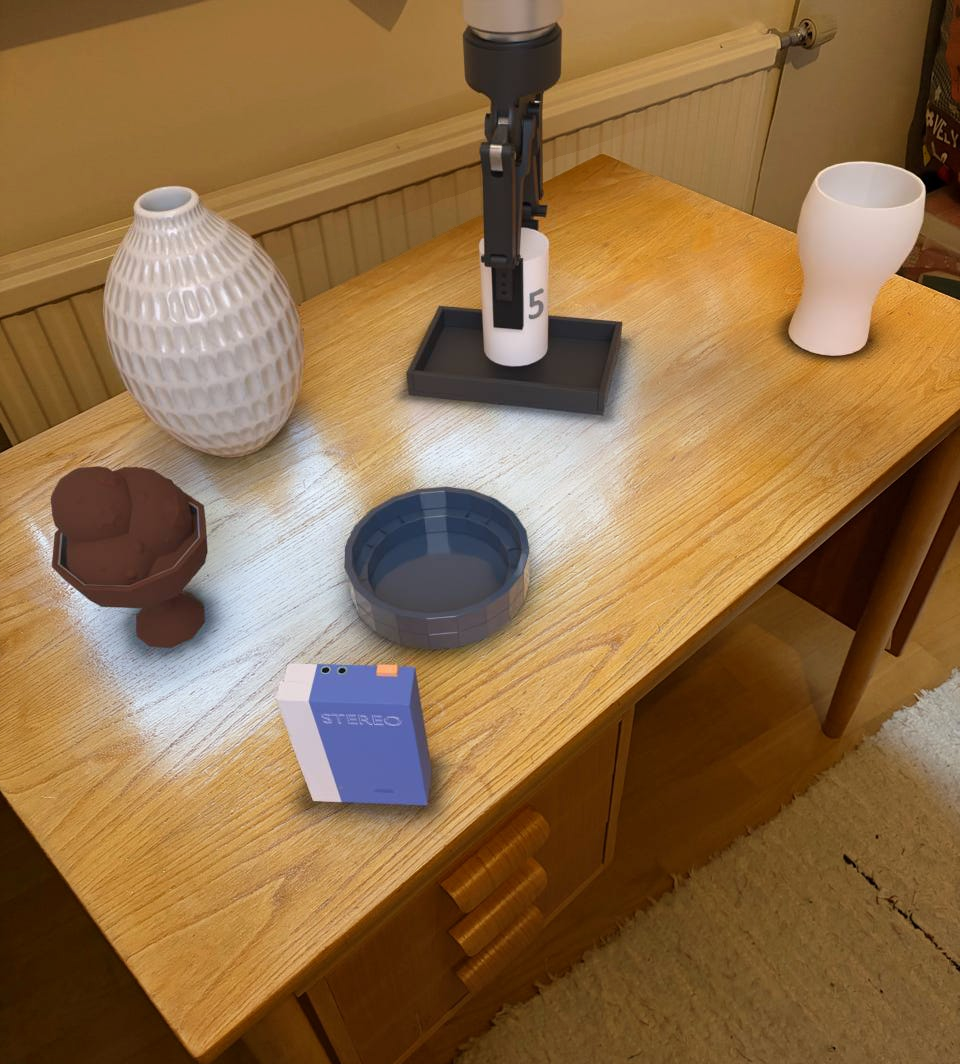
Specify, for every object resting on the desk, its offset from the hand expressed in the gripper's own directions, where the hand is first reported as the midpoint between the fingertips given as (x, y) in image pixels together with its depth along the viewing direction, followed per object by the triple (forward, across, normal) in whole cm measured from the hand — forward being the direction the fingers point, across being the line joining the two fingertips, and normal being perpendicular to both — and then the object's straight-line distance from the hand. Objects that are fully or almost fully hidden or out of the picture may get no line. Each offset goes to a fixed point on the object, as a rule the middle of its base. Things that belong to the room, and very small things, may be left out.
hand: (516, 305), depth 86 cm
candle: (+5, 0, 0) cm, 5 cm away
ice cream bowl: (+7, +38, -20) cm, 44 cm away
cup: (+7, -11, +30) cm, 33 cm away
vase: (+7, +15, -24) cm, 29 cm away
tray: (+7, 0, 0) cm, 7 cm away
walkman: (+7, +49, 0) cm, 49 cm away
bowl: (+7, +30, 0) cm, 31 cm away
